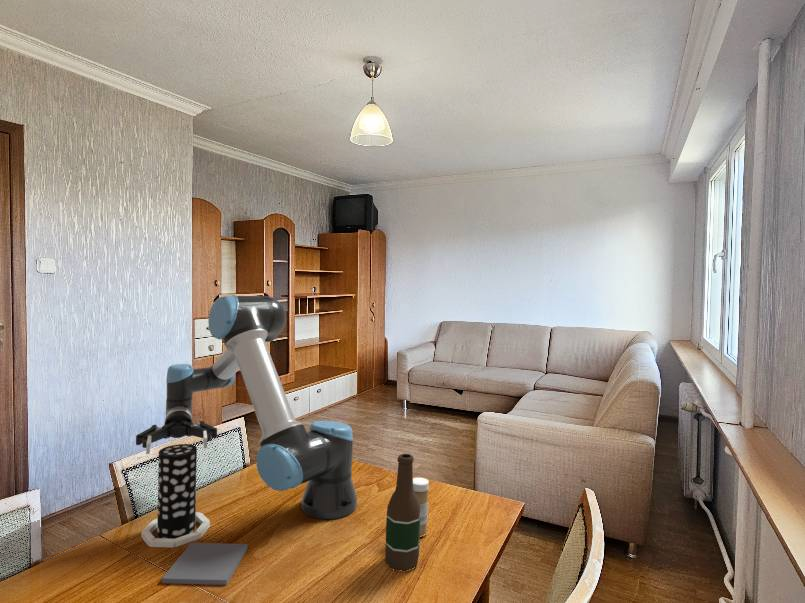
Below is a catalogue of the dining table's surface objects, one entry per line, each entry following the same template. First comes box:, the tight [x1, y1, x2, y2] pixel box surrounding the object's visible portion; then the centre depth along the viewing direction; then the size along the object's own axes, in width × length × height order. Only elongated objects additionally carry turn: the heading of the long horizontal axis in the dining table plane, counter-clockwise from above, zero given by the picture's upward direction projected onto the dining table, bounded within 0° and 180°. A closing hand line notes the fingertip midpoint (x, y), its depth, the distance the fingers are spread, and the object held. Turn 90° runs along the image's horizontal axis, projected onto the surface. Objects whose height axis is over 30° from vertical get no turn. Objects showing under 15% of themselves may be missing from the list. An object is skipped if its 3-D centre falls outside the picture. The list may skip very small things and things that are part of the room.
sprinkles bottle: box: [413, 477, 430, 536], centre depth 114 cm, size 5×5×14 cm
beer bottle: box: [384, 453, 421, 572], centre depth 102 cm, size 8×8×24 cm
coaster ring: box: [140, 511, 211, 549], centre depth 112 cm, size 14×14×1 cm
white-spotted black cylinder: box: [156, 443, 198, 539], centre depth 112 cm, size 8×8×20 cm
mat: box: [161, 542, 249, 586], centre depth 99 cm, size 13×13×1 cm
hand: (177, 445), depth 121 cm, fingers open, 13 cm apart
